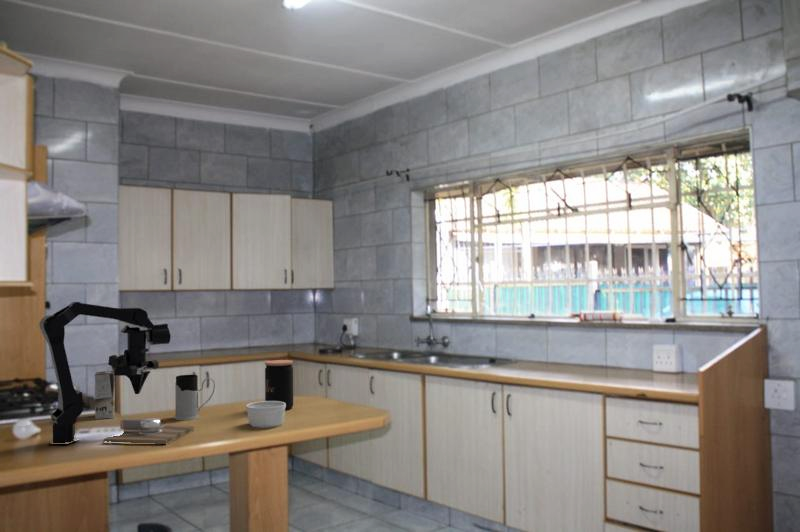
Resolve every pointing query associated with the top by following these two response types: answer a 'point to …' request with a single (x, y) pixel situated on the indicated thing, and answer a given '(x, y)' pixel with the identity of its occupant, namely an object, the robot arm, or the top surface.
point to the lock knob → (142, 424)
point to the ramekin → (266, 413)
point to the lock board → (152, 435)
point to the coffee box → (104, 395)
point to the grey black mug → (187, 397)
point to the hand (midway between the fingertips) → (137, 393)
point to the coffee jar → (279, 382)
